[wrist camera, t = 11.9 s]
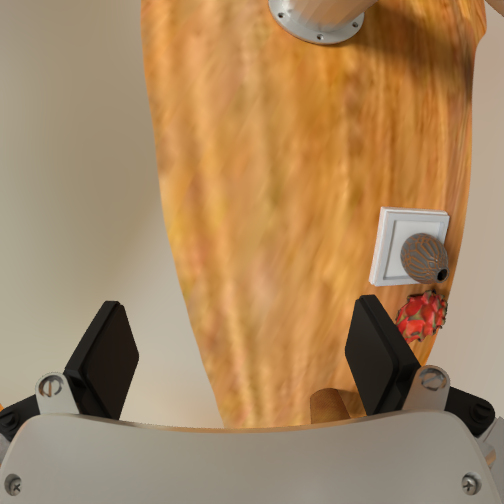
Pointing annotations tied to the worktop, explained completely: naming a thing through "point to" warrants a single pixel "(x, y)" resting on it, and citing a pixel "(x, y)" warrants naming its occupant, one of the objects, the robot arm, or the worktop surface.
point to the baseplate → (402, 240)
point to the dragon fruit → (421, 316)
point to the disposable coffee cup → (327, 407)
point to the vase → (425, 259)
